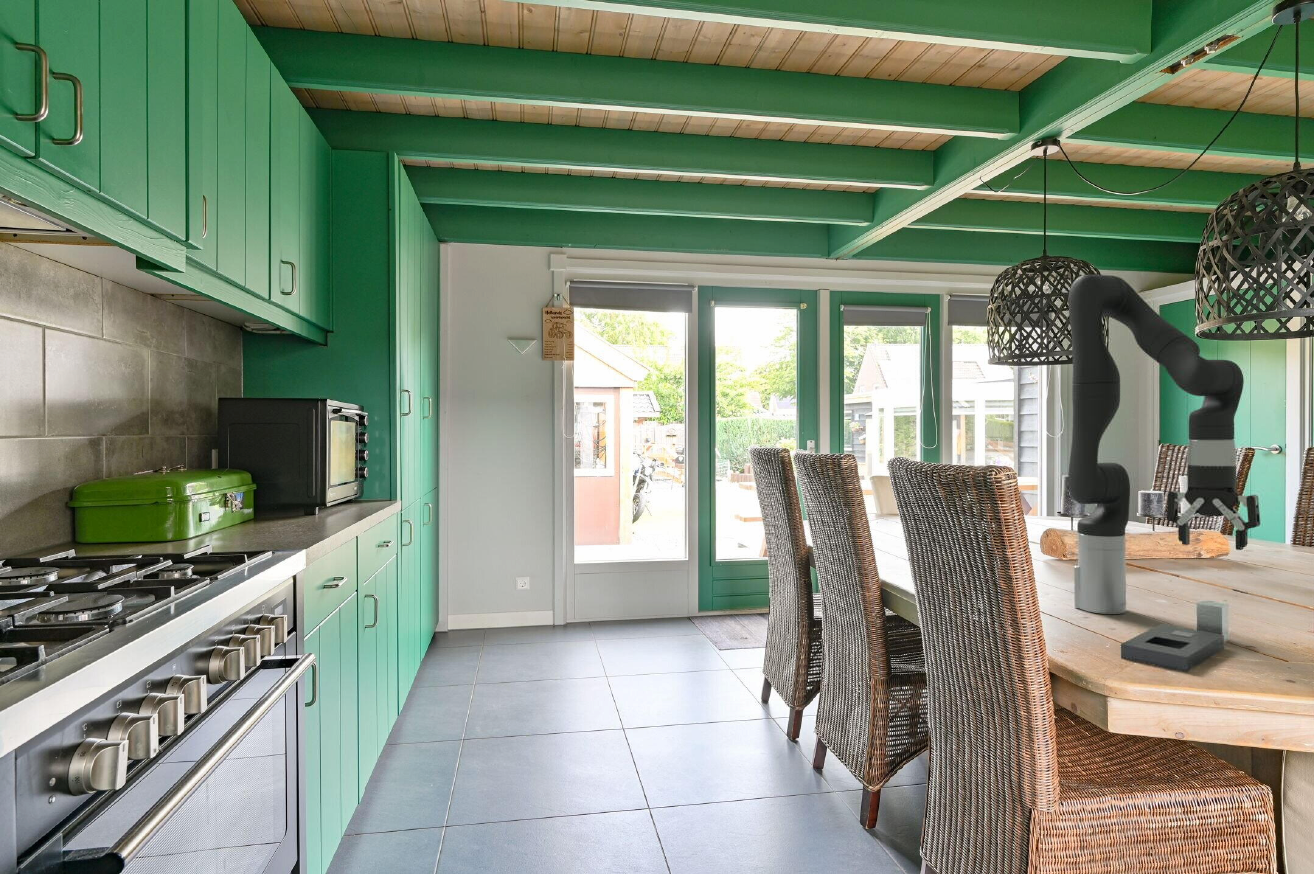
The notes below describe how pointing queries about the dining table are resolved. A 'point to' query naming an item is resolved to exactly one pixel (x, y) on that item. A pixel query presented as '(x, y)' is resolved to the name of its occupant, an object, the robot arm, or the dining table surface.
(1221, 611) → the grey rectangular block
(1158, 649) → the dark grey flat board
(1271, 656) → the dining table surface
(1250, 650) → the dining table surface
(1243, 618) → the dining table surface
